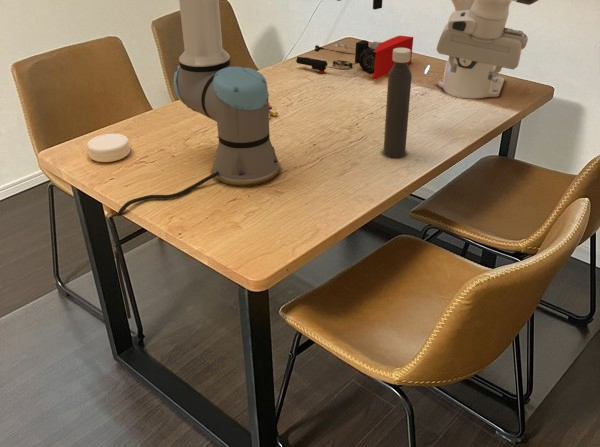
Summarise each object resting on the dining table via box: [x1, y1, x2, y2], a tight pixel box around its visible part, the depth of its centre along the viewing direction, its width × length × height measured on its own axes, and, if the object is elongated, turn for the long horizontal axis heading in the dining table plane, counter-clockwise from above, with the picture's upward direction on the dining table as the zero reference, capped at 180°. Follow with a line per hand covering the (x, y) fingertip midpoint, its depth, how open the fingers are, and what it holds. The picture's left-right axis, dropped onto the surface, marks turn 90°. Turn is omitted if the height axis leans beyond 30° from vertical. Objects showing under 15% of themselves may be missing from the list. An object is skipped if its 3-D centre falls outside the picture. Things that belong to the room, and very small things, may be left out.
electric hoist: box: [295, 35, 414, 81], centre depth 208 cm, size 10×27×30 cm
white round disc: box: [86, 133, 131, 163], centre depth 153 cm, size 10×10×4 cm
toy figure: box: [268, 101, 278, 119], centre depth 176 cm, size 2×7×12 cm
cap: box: [392, 48, 412, 63], centre depth 140 cm, size 4×4×2 cm
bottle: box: [382, 62, 413, 159], centre depth 146 cm, size 5×5×25 cm
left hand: (358, 4), depth 166 cm, fingers open, 13 cm apart
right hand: (471, 75), depth 158 cm, fingers open, 8 cm apart
